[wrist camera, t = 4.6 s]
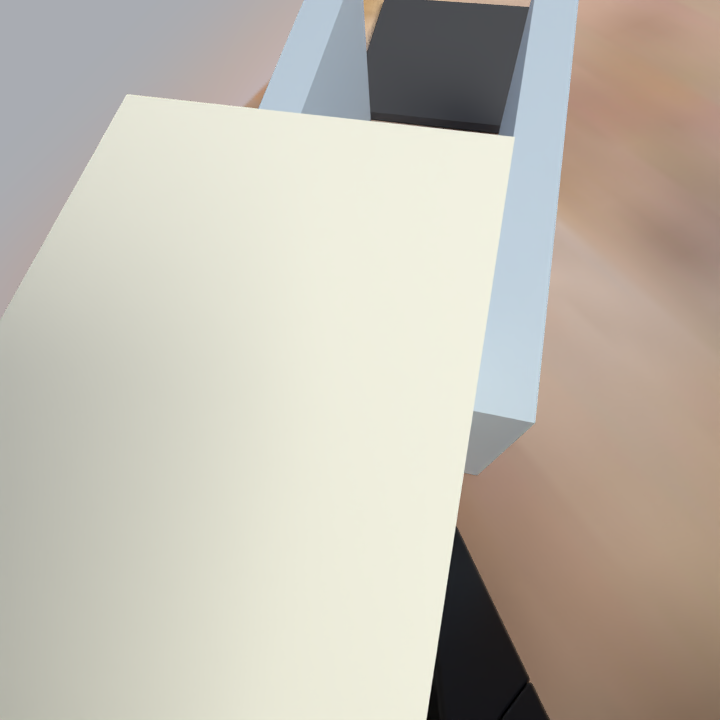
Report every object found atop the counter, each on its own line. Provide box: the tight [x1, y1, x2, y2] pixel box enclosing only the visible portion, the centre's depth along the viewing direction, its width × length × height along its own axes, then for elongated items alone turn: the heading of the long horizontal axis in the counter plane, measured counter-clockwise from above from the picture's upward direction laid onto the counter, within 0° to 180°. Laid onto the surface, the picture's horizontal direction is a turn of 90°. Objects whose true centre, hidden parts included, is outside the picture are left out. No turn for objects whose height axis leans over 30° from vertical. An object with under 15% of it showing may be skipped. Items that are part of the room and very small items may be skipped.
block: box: [0, 94, 515, 720], centre depth 10 cm, size 7×4×12 cm, turn 167°
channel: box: [258, 0, 578, 475], centre depth 15 cm, size 14×8×7 cm, turn 167°
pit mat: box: [367, 0, 529, 133], centre depth 22 cm, size 8×8×1 cm
